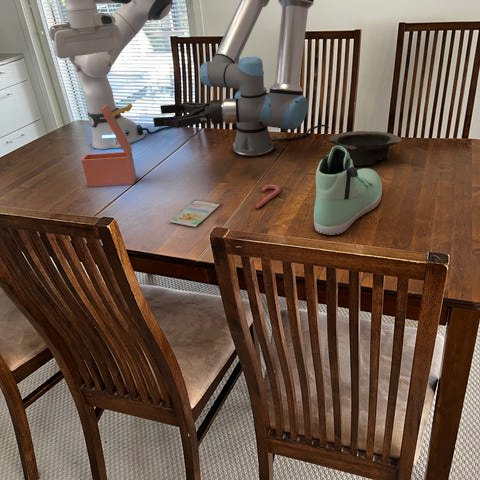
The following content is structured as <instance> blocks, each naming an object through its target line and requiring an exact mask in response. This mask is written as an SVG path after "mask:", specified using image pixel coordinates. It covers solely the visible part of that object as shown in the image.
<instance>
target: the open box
mask: <svg viewBox="0 0 480 480" xmlns="http://www.w3.org/2000/svg"><path fill="white" fill-rule="evenodd" d="M81 164H82V168H83V173H84V176H85V180H86V184H87V187H88V188H93V187H95V188H96V187H110V186H123V185H124V186H125V185H134V184H135V182H136V180H137V178H138V177H137V171H136V168H135V167H136V166H135V162H134V157H133V152H132V151H131V153H130V155H129V156H126V154H125V152H124V151H118V152H102V153H101V152H100V153H87V154H85V155H84V156H83V158H82V159H81Z"/></svg>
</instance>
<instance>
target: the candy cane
mask: <svg viewBox="0 0 480 480" xmlns="http://www.w3.org/2000/svg"><path fill="white" fill-rule="evenodd" d="M268 190H274V191H272V192H271V193H270V194H268V195H267V196H265V197H264V198H262V199H261V200H260V201H259V202H257V203H256V204H255V205H254V208H255V209H260V208H261V207H262V206H264V205H266V204H267V203H268V202H269V201H270V200H272V199H273V198H274V197H276V196H277V195H279V194H280V193H281V191H282V189H281V187H280V186H279V185H277V184H267V185H264V186H262V188H261V192H263V193H265V192H266V191H268Z"/></svg>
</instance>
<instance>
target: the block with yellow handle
mask: <svg viewBox="0 0 480 480" xmlns="http://www.w3.org/2000/svg"><path fill="white" fill-rule="evenodd" d="M120 108H121V109H120ZM120 108H119V110H116V111H114V112H112V111H111V110H110V108H109V106H108V104H106V105H105V106H104V107H103V108H102V109H101V111H102V113H103V115H104V117H105V118H106V120H107V122H108V124H109V125H110V127H111V129H112V131H113V133H114V134H115V136H116V138H117V140H118V142H119V143H120V145H121V147H122V148H121V149H122V150H123V152H125V154H126V156H129V155H130V153H131V152H132V151H133V148H132V146H131V144H129V142H128V141H127V139H126V137H125V135H124V133H123V131H122V130H121V128H120V126H119V124H118V122H117V121H116V119H115V117H114V116H116V115H118V114H124V113H123V112H130V111H131V109H132V108H133V104H132V103H128V104H127V105H126V106H124V107H123V106H122V107H120Z"/></svg>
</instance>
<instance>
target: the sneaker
mask: <svg viewBox="0 0 480 480" xmlns="http://www.w3.org/2000/svg"><path fill="white" fill-rule="evenodd" d="M317 165H318V166H317V168H316V172H315V201H314V207H313V225H314V229H315V231H316V232H318V233H320V234H323V235H326V236H327V235H328V236H336V235H339V234H342V233H344V232H345V231H347V230H348V229H349V228H350V227H351V226H352V225H353V224H354V222H356V221H357V220H358V219H359V218H360V217H362V216H363V215H365V214H367V213H370V212H372V210H374V209H375V208H377V207H378V205H380V203H381V200H382V196H383V184H382V183H383V182H382V179H381V176H380V175H379V173H378V172H377V171H376V170H374V169H372V168H367V167H365V168H358V169H357V168H355V167H354V166H355V165H353V161H352V159H350V156H349V153H348V152H347V150H346V149H345V148H344V147H342V146H338V145H334V146H333V147H331V149H330V151H329V154H327V155H326V156H325V157H324V158H322V159H321V160H320V161H319V163H318V164H317ZM343 230H344V231H343ZM319 231H320V232H319ZM322 232H323V233H322ZM339 232H340V233H339ZM326 233H327V234H326ZM328 233H329V234H328ZM335 233H337V234H335Z"/></svg>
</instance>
